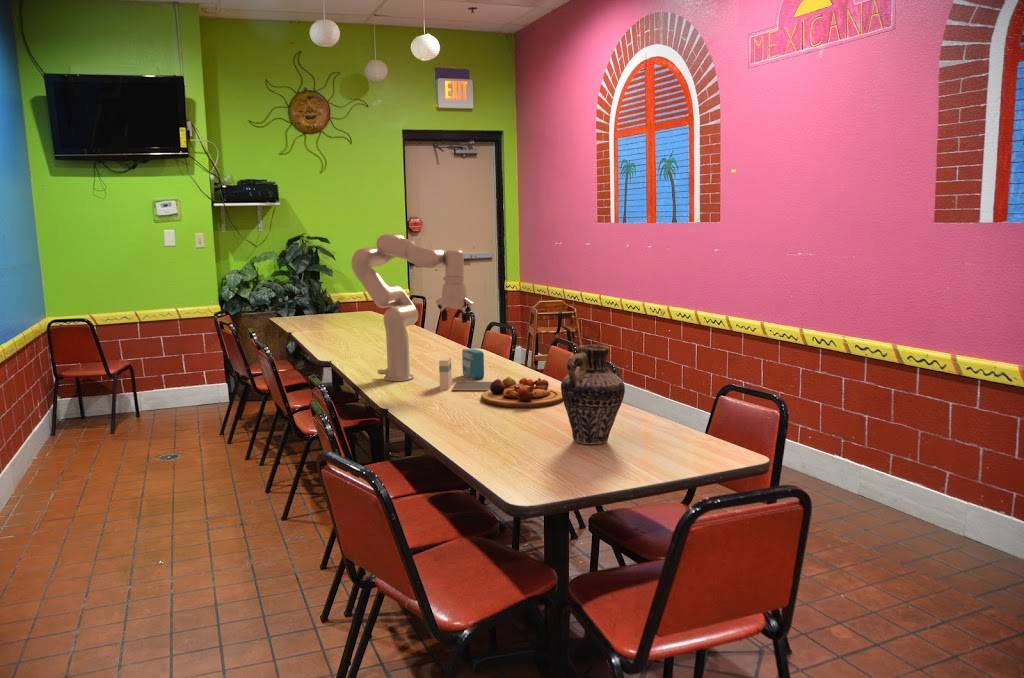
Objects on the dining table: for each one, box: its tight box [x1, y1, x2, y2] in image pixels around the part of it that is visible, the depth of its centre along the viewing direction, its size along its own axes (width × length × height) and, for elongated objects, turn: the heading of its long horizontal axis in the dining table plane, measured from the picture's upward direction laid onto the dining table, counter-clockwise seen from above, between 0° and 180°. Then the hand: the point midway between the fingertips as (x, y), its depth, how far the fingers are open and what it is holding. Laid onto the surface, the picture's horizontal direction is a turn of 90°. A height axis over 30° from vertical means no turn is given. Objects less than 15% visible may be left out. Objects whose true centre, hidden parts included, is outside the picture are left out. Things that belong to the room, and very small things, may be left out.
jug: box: [560, 344, 626, 446], centre depth 248 cm, size 21×19×30 cm
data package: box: [461, 347, 485, 380], centre depth 352 cm, size 12×4×12 cm, turn 30°
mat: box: [451, 381, 493, 392], centre depth 332 cm, size 19×16×1 cm
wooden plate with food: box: [480, 376, 563, 409], centre depth 309 cm, size 32×32×8 cm
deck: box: [438, 356, 453, 390], centre depth 332 cm, size 4×9×12 cm, turn 176°
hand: (454, 321), depth 335 cm, fingers open, 9 cm apart
